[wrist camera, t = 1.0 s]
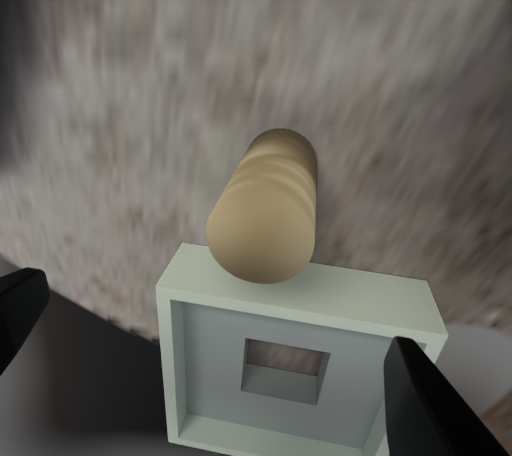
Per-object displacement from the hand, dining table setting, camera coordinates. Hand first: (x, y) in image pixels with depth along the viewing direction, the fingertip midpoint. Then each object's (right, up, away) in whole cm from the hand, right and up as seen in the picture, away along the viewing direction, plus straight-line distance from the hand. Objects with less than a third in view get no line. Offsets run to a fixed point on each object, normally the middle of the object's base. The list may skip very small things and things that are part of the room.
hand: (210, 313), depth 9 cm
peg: (+2, +6, +11) cm, 13 cm away
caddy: (+3, -7, +18) cm, 19 cm away
